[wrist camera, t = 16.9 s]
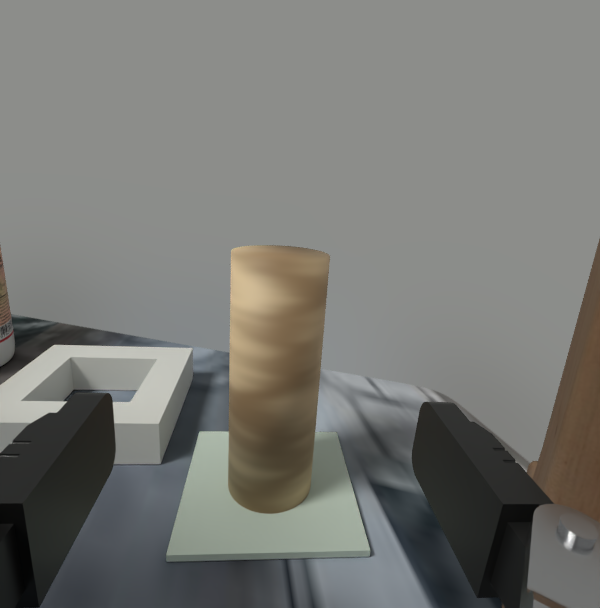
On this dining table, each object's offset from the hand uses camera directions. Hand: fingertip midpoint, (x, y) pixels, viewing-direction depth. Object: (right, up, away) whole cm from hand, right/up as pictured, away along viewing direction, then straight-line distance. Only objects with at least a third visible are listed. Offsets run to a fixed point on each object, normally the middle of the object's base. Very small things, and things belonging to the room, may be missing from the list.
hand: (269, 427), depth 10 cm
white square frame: (-15, -5, +20) cm, 26 cm away
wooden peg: (-1, -8, +14) cm, 16 cm away
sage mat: (-1, -8, +14) cm, 16 cm away
